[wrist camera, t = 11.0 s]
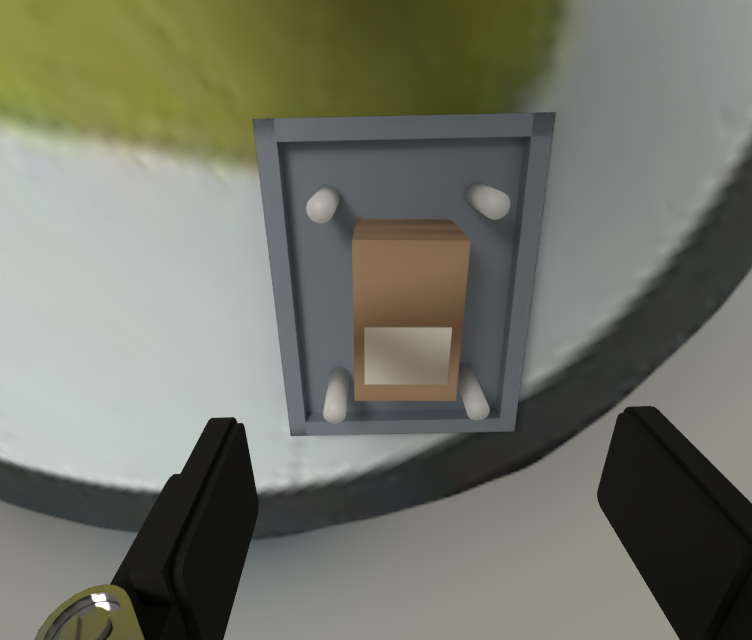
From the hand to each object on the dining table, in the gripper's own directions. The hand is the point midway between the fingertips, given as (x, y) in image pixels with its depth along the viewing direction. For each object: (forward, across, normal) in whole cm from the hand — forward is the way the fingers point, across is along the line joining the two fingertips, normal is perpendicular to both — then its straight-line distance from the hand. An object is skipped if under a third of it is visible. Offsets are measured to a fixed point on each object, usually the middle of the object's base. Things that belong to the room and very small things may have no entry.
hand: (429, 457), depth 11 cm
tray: (+16, 0, +1) cm, 16 cm away
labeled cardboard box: (+14, 0, +1) cm, 14 cm away
